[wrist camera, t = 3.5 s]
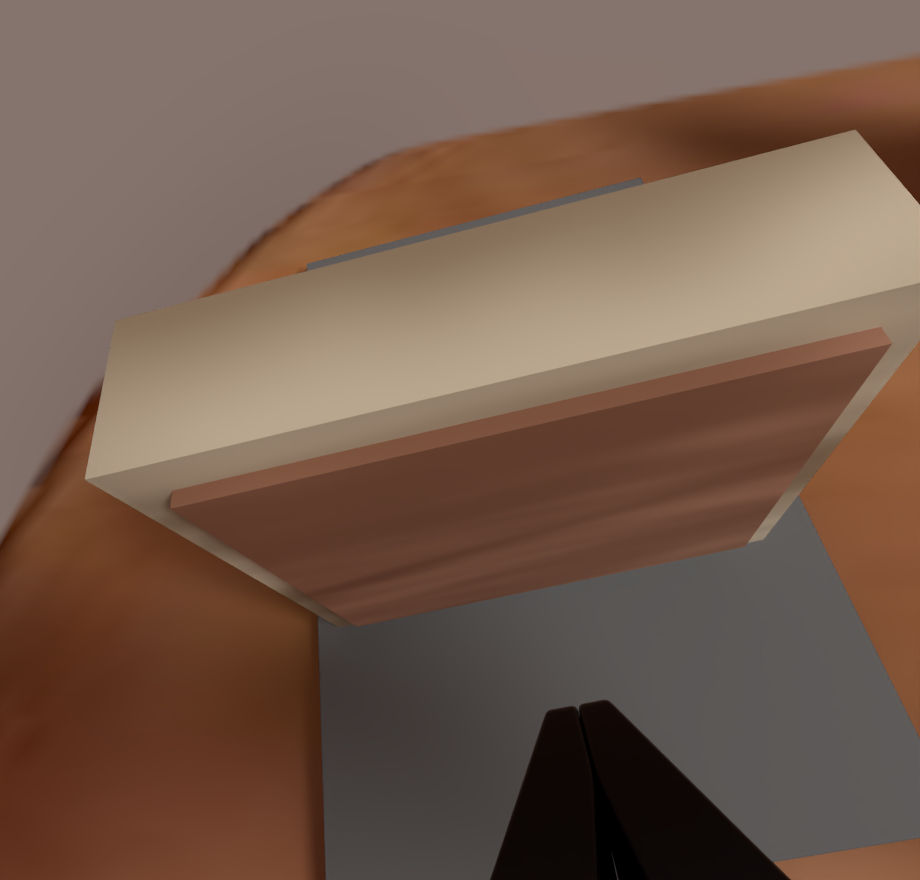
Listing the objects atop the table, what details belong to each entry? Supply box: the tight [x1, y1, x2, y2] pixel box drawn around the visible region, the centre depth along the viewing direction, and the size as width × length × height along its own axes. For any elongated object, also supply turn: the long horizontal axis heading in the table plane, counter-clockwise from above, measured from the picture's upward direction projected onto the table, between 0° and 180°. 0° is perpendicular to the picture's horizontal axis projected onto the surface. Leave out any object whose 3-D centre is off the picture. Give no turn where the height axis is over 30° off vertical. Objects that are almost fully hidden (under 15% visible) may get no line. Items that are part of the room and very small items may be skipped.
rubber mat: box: [307, 178, 920, 880], centre depth 19 cm, size 22×14×1 cm, turn 9°
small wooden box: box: [85, 130, 920, 627], centre depth 13 cm, size 3×12×10 cm, turn 99°
